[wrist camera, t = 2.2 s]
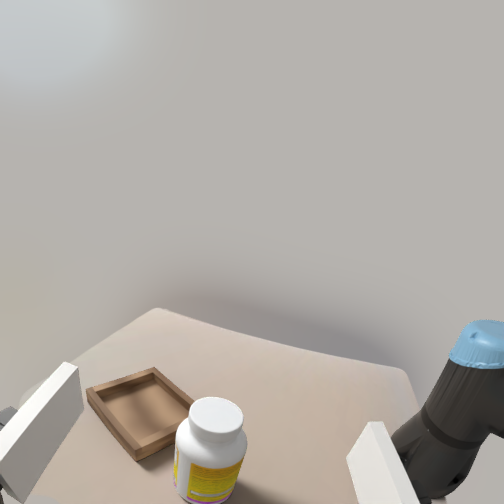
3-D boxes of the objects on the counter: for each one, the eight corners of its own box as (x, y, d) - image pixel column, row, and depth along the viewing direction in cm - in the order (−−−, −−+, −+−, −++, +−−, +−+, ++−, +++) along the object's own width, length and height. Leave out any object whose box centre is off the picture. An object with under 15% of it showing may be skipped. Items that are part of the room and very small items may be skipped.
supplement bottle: (244, 491, 26) (271, 422, 23) (198, 517, 21) (212, 454, 18) (206, 456, 30) (221, 382, 27) (161, 476, 25) (162, 402, 22)
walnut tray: (153, 379, 42) (154, 366, 42) (207, 424, 36) (209, 412, 35) (87, 401, 33) (85, 389, 32) (136, 461, 26) (135, 450, 26)
